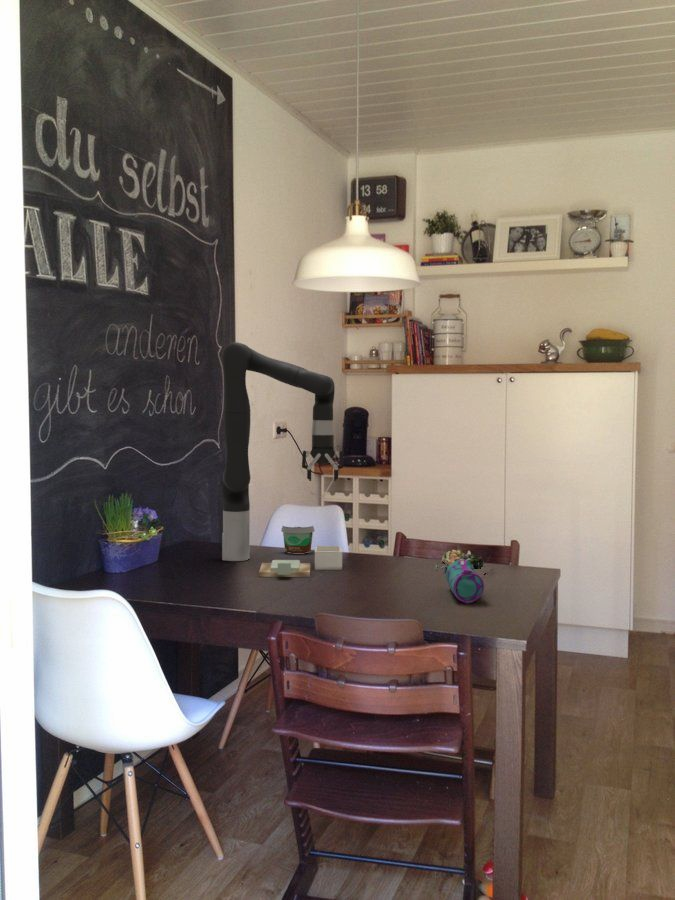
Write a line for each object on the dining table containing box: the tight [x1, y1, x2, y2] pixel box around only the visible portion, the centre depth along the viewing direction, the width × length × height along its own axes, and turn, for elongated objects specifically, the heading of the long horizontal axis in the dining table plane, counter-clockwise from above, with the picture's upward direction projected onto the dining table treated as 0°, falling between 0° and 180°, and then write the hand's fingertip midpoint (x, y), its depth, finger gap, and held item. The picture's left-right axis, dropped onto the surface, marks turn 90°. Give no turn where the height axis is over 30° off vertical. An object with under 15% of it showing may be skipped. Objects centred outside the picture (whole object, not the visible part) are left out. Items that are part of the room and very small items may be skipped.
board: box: [258, 562, 311, 578], centre depth 274 cm, size 16×16×2 cm
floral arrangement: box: [435, 543, 485, 569], centre depth 285 cm, size 35×28×7 cm
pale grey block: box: [270, 559, 301, 575], centre depth 271 cm, size 9×19×4 cm, turn 1°
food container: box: [280, 525, 316, 553], centre depth 309 cm, size 12×6×10 cm, turn 88°
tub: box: [314, 545, 343, 571], centre depth 284 cm, size 9×12×6 cm
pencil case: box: [443, 558, 486, 604], centre depth 240 cm, size 21×9×10 cm, turn 0°
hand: (322, 480), depth 291 cm, fingers open, 8 cm apart
